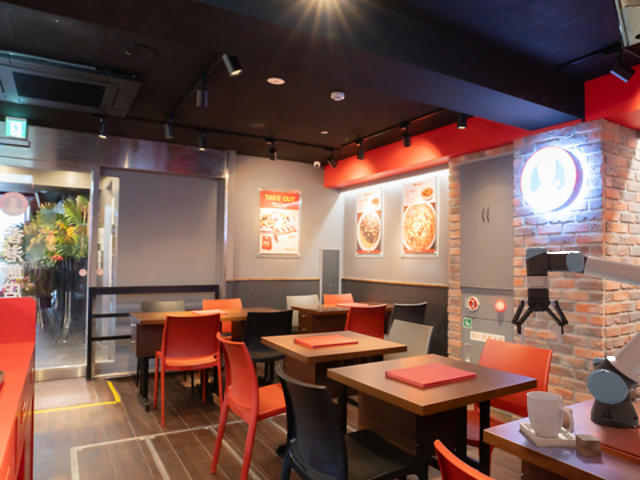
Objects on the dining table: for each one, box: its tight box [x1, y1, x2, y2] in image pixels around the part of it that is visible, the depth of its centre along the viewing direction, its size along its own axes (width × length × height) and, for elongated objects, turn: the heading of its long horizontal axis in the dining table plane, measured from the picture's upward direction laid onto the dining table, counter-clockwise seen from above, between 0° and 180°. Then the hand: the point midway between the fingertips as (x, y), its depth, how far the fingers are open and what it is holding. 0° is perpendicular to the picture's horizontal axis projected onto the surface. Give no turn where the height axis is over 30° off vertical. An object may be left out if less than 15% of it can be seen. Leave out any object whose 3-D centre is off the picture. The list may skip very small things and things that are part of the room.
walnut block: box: [574, 433, 602, 458], centre depth 137 cm, size 5×5×5 cm
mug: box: [526, 390, 575, 438], centre depth 150 cm, size 15×11×13 cm
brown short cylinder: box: [562, 406, 574, 430], centre depth 162 cm, size 5×5×6 cm
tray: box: [519, 422, 576, 449], centre depth 150 cm, size 13×16×2 cm
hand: (540, 343), depth 170 cm, fingers open, 13 cm apart
